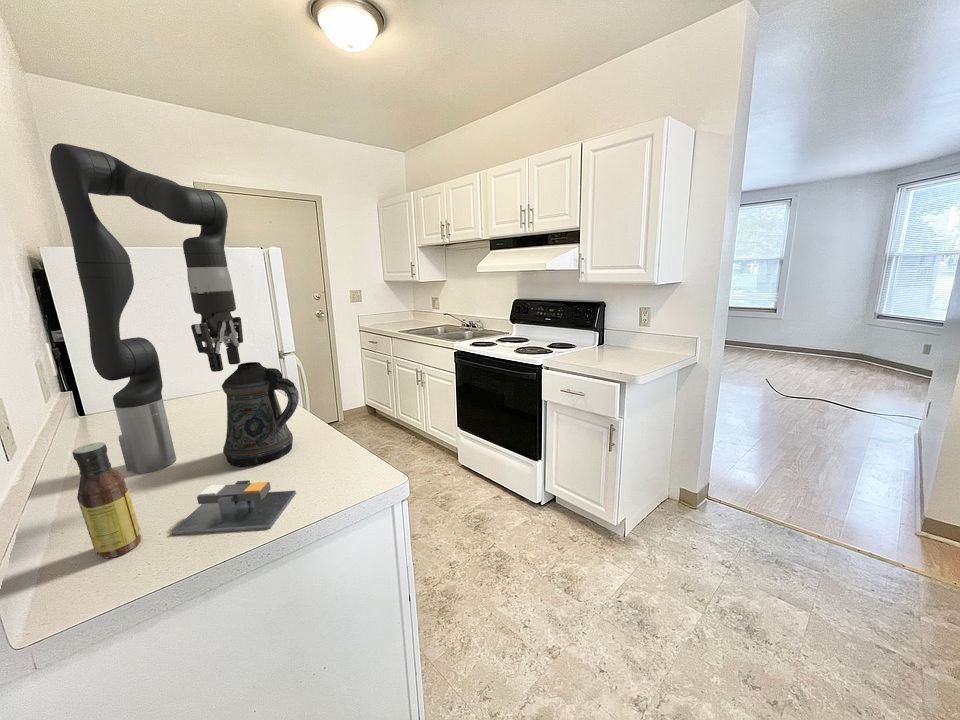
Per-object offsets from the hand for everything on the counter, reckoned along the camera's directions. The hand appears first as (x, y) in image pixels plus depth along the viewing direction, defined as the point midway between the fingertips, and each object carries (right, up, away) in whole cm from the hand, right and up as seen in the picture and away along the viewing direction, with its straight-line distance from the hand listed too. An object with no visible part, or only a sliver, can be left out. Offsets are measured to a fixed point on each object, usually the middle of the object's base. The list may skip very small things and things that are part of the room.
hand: (226, 367), depth 86 cm
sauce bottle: (-9, -32, -16) cm, 37 cm away
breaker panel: (+7, -29, -7) cm, 31 cm away
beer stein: (-3, -24, +21) cm, 32 cm away
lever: (+7, -25, -8) cm, 27 cm away
